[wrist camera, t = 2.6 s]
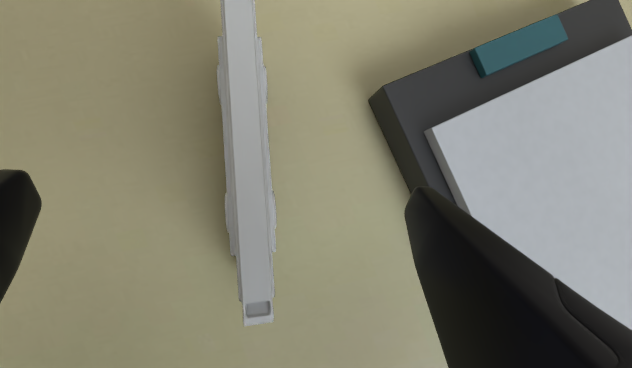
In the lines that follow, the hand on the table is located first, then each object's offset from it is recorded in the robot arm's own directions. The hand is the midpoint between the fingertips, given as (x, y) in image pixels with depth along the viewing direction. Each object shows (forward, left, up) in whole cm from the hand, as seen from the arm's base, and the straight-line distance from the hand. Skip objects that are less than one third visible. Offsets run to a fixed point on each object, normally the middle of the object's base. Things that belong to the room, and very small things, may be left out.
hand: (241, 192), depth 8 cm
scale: (-4, -18, -9) cm, 21 cm away
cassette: (+2, 0, -10) cm, 10 cm away
